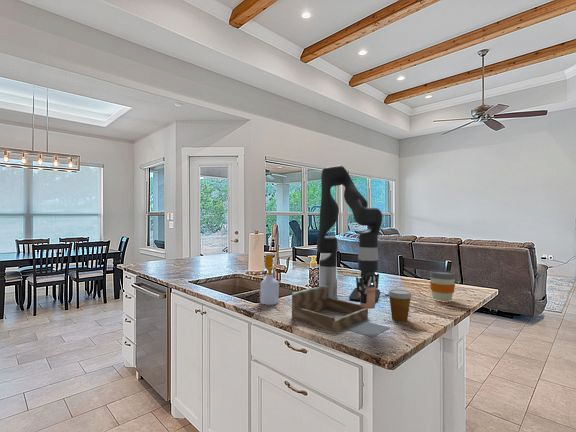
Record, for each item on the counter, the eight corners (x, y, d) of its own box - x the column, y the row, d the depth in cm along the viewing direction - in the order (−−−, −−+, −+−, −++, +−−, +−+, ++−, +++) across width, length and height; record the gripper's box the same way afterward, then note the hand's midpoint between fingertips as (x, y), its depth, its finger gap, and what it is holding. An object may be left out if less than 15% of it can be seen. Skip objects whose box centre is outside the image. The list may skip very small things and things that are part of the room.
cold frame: (325, 307, 154) (326, 284, 154) (367, 317, 138) (368, 292, 138) (291, 318, 136) (291, 293, 136) (335, 331, 121) (335, 303, 121)
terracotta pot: (364, 303, 129) (364, 277, 129) (379, 306, 125) (379, 279, 125) (356, 306, 125) (356, 279, 125) (370, 309, 120) (371, 281, 120)
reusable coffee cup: (457, 304, 162) (457, 275, 162) (430, 302, 166) (430, 273, 166) (453, 298, 174) (453, 271, 174) (428, 296, 178) (428, 269, 178)
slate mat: (363, 321, 134) (363, 320, 134) (390, 328, 126) (390, 327, 126) (344, 329, 124) (344, 328, 124) (372, 337, 116) (372, 336, 116)
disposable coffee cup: (406, 316, 141) (406, 289, 141) (415, 323, 132) (415, 294, 132) (384, 316, 141) (385, 288, 141) (392, 323, 132) (392, 294, 132)
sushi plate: (355, 290, 194) (355, 283, 194) (407, 294, 184) (408, 288, 184) (348, 301, 167) (348, 294, 167) (409, 308, 157) (409, 300, 157)
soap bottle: (262, 305, 155) (263, 255, 155) (258, 301, 164) (259, 253, 164) (280, 304, 157) (280, 254, 157) (275, 300, 166) (276, 252, 166)
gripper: (368, 256, 133) (368, 297, 132) (349, 259, 122) (349, 303, 122) (385, 258, 128) (385, 300, 127) (367, 261, 117) (366, 307, 117)
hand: (367, 301), depth 125 cm, fingers closed on terracotta pot, 5 cm apart
